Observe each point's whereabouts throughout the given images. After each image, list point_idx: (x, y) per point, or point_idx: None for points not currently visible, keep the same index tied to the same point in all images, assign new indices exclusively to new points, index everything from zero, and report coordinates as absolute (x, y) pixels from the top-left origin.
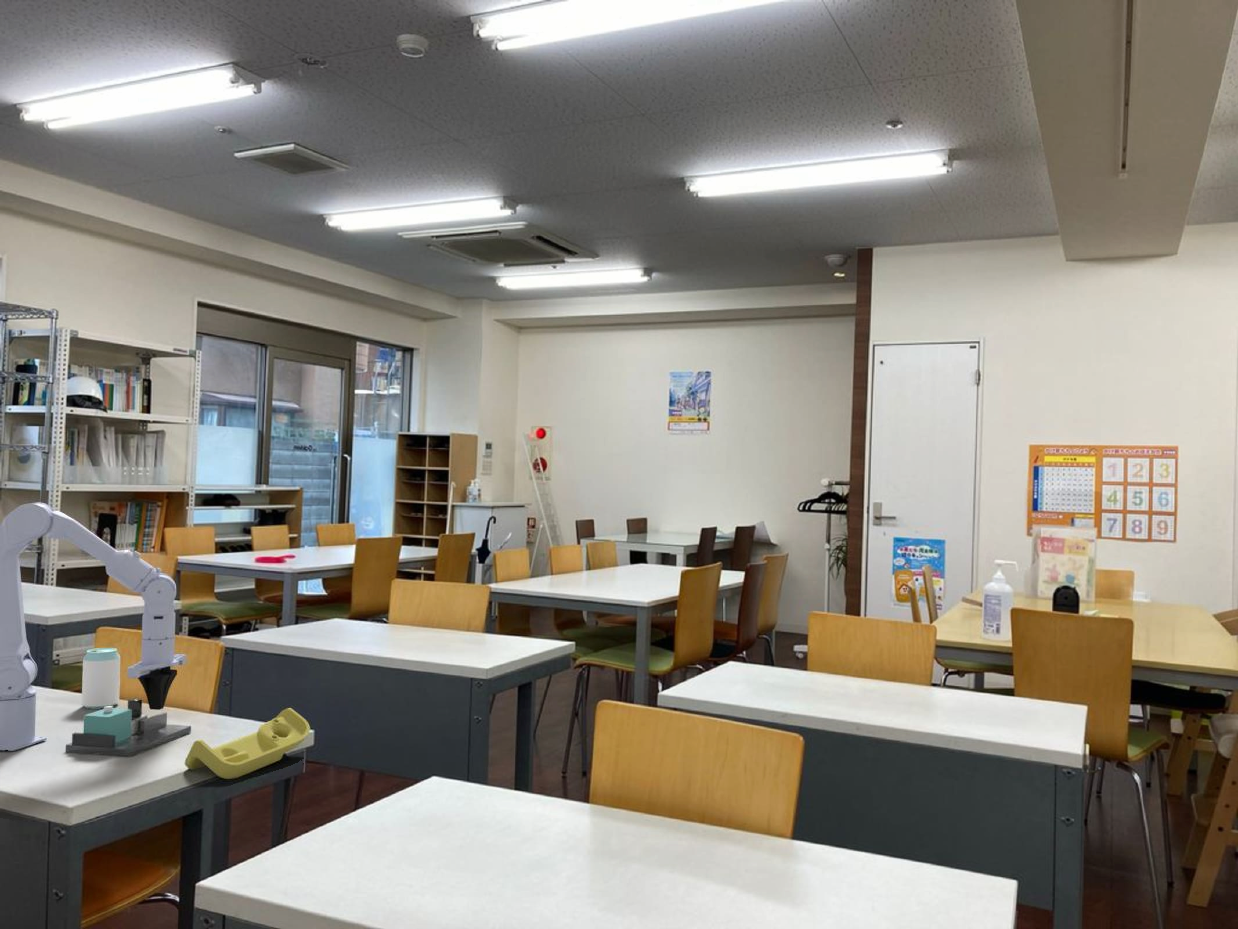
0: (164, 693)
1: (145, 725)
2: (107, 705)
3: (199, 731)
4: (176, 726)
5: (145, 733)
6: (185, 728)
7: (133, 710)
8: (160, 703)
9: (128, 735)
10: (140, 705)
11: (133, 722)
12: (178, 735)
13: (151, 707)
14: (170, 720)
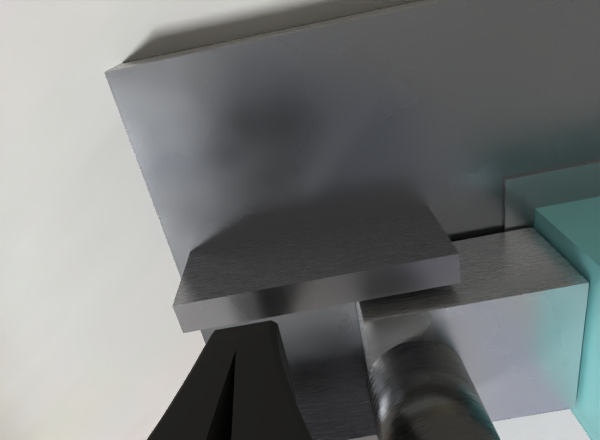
0: (211, 436)
1: (433, 234)
2: None
3: (58, 27)
4: (178, 165)
5: (422, 201)
6: (178, 56)
7: (478, 398)
8: (271, 351)
9: (568, 210)
10: (439, 413)
11: (528, 281)
12: (267, 35)
13: (292, 388)
14: (19, 387)
